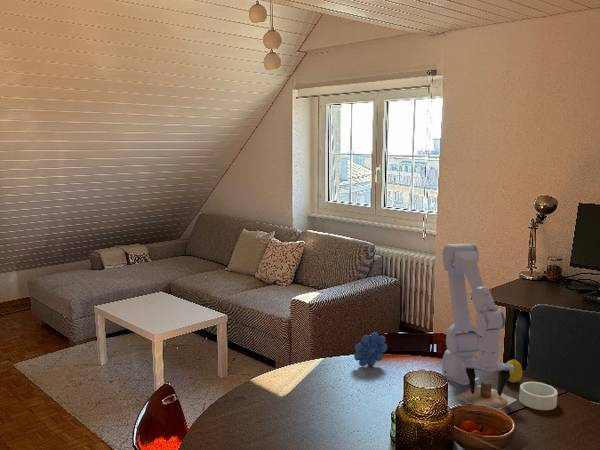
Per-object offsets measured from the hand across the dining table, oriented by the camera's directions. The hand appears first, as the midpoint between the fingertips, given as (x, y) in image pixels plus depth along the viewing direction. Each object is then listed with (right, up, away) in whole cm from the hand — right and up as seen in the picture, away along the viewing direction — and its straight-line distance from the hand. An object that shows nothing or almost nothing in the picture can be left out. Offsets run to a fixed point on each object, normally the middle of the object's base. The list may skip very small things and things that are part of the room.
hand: (485, 393), depth 169 cm
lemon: (+12, -1, +12) cm, 17 cm away
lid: (0, -2, 0) cm, 2 cm away
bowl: (+15, -3, -2) cm, 15 cm away
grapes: (-31, +2, +25) cm, 40 cm away
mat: (0, -2, 0) cm, 2 cm away
